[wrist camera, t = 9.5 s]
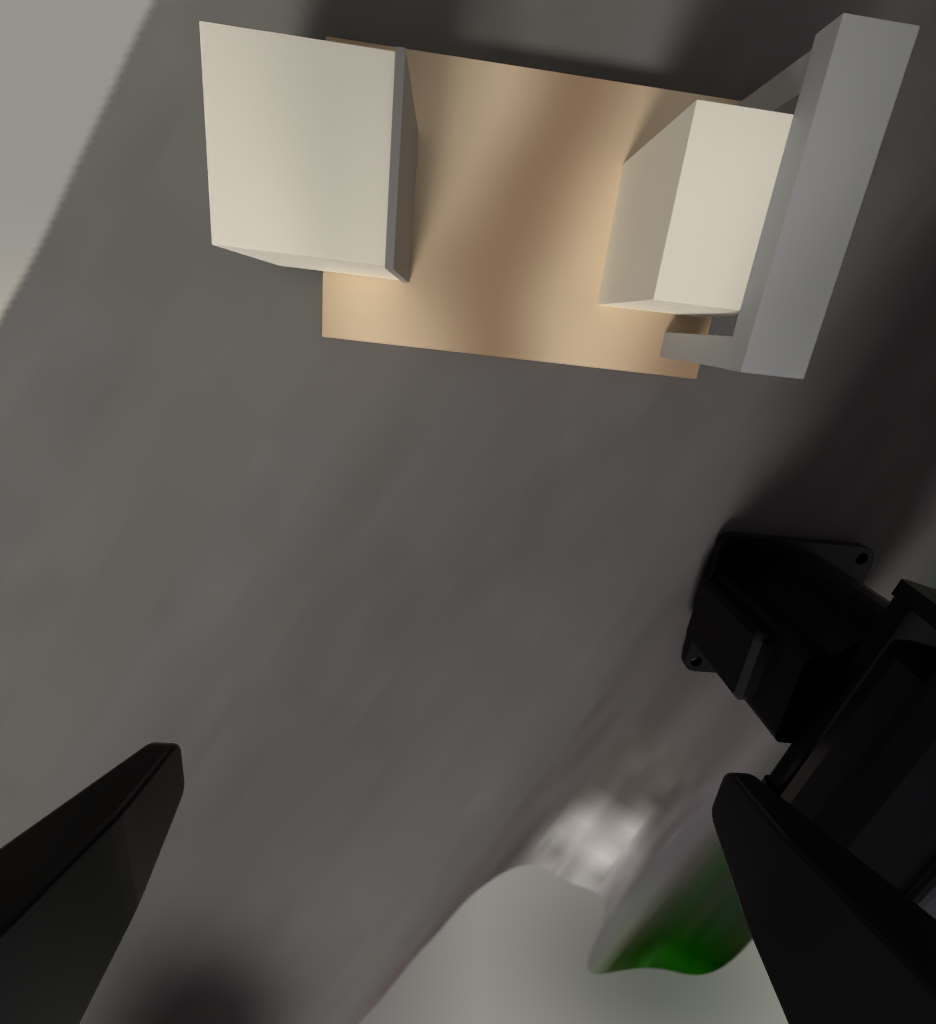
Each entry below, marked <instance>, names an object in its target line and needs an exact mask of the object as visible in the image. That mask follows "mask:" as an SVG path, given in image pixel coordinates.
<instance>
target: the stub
mask: <svg viewBox="0 0 936 1024" xmlns="http://www.w3.org/2000/svg"><path fill="white" fill-rule="evenodd" d="M199 24H200V42H201V59H202V77H203V94H204V112H205V129H206V147H207V164H208V181H209V199H210V216H211V234H212V245H215V246H218V247H222V248H225V249H228V250H231V251H234V252H238V253H241V254H244V255H247V256H250V257H254V258H257V259H260V260H263V261H266V262H270V263H273V264H276V265H279V266H287V267H295V268H303V269H311V270H319V271H327V272H336V273H344V274H352V275H360V276H368V277H376V278H385V279H393V280H400V281H402V282H403V283H409V273H410V257H411V242H412V226H413V210H414V195H415V179H416V164H417V148H418V126H417V120H416V113H415V107H414V100H413V94H412V87H411V81H410V74H409V68H408V61H407V55H406V48H404V47H398V46H396V47H395V51H389V50H382V49H376V48H369V47H363V46H356V45H350V44H344V43H337V42H331V41H324V40H318V39H311V38H305V37H299V36H292V35H286V34H279V33H273V32H266V31H260V30H254V29H247V28H241V27H234V26H228V25H221V24H215V23H209V22H202V21H199Z"/></svg>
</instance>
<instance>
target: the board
mask: <svg viewBox="0 0 936 1024" xmlns="http://www.w3.org/2000/svg"><path fill="white" fill-rule="evenodd" d="M325 41H331V42H337V43H344V44H350V45H356V46H363V47H369V48H376V49H382V50H389V51H395V47H392V46H385V45H379V44H372V43H366V42H360V41H353V40H347V39H340V38H334V37H327V36H326V39H325ZM406 55H407V61H408V68H409V74H410V81H411V87H412V94H413V100H414V107H415V113H416V120H417V126H418V148H417V164H416V179H415V195H414V210H413V226H412V242H411V257H410V273H409V283H403V282H402V281H400V280H393V279H385V278H376V277H368V276H360V275H352V274H344V273H336V272H327V271H323V324H322V337H330V338H339V339H348V340H357V341H365V342H374V343H383V344H392V345H401V346H410V347H418V348H427V349H436V350H445V351H454V352H463V353H471V354H480V355H489V356H498V357H507V358H516V359H525V360H533V361H542V362H551V363H560V364H569V365H578V366H586V367H595V368H604V369H613V370H622V371H631V372H639V373H648V374H657V375H666V376H675V377H684V378H692V379H696V378H697V374H698V370H699V366H700V364H698V363H692V362H687V361H681V360H676V359H670V358H665V357H659V355H660V351H661V347H662V342H663V338H664V334H665V332H669V333H685V334H700V335H708V332H709V328H710V324H711V320H712V317H694V316H686V315H678V314H669V313H661V312H653V311H645V310H637V309H629V308H620V307H612V306H604V305H597V301H598V296H599V290H600V285H601V280H602V274H603V269H604V263H605V258H606V252H607V247H608V242H609V236H610V231H611V225H612V220H613V214H614V209H615V203H616V198H617V193H618V187H619V182H620V176H621V171H622V165H623V164H624V163H625V162H626V161H627V160H629V159H630V158H631V157H632V156H633V155H634V154H635V153H637V152H638V151H639V150H640V149H641V148H642V147H643V146H645V145H646V144H647V143H648V142H649V141H650V140H651V139H653V138H654V137H655V136H656V135H657V134H658V133H659V132H661V131H662V130H663V129H664V128H665V127H666V126H667V125H669V124H670V123H671V122H672V121H673V120H674V119H675V118H677V117H678V116H679V115H680V114H681V113H682V112H683V111H685V110H686V109H687V108H688V107H689V106H690V105H691V104H693V103H694V102H695V101H696V100H703V101H709V102H716V103H722V104H729V105H735V106H736V105H737V104H738V103H740V102H741V101H737V100H731V99H724V98H718V97H712V96H705V95H699V94H692V93H686V92H680V91H673V90H667V89H660V88H654V87H648V86H641V85H635V84H628V83H622V82H616V81H609V80H603V79H596V78H590V77H584V76H577V75H571V74H564V73H558V72H552V71H545V70H539V69H532V68H526V67H520V66H513V65H507V64H500V63H494V62H488V61H481V60H475V59H468V58H462V57H456V56H449V55H443V54H436V53H430V52H424V51H417V50H411V49H406Z"/></svg>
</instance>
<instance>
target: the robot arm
mask: <svg viewBox="0 0 936 1024" xmlns="http://www.w3.org/2000/svg"><path fill="white" fill-rule="evenodd" d="M731 542H734V545H733V546H732V547H731V548H729V549H727V546H728V544H729V543H731ZM859 554H860V556H859V558H857V559H856V557H857V556H858V555H859ZM873 558H874V553H873V551H872V550H871V549H870V548H868V547H866V546H864V545H862V544H858V543H847V542H836V541H825V540H814V539H803V538H792V537H781V536H770V535H758V534H747V533H736V532H727V533H724V534H722V535H721V536H720V537H719V538H718V539H717V541H716V544H715V547H714V551H713V554H712V557H711V560H710V564H709V567H708V570H707V574H706V577H705V580H704V581H703V582H702V583H701V586H700V589H699V592H698V595H697V599H696V602H695V605H694V609H693V612H692V615H691V619H690V622H689V625H688V628H687V634H688V636H687V639H686V642H685V646H684V649H683V652H682V656H681V659H682V661H683V663H684V665H685V666H686V668H688V669H689V670H692V671H701V672H715V673H717V674H718V675H719V676H720V677H721V679H722V680H723V681H724V683H725V684H726V685H727V687H728V688H729V689H730V691H731V692H732V693H733V695H734V696H735V697H736V698H737V699H738V700H745V701H746V702H747V703H748V705H749V706H750V707H751V708H752V710H753V711H754V712H755V714H756V715H757V716H758V717H759V719H760V720H761V721H762V722H763V724H764V725H765V726H766V728H767V729H768V730H769V731H770V733H771V734H772V735H773V737H774V738H775V739H776V740H777V741H778V742H783V743H792V744H791V745H790V747H789V748H788V749H787V751H786V752H785V754H784V755H783V757H782V758H781V759H780V761H779V762H778V764H777V765H776V767H775V768H774V769H773V771H772V772H771V774H770V775H765V776H764V778H763V779H762V781H760V780H759V779H758V778H756V777H755V776H753V775H751V774H747V773H727V774H726V775H725V776H724V778H723V780H722V782H721V785H720V788H719V790H718V793H717V796H716V798H715V801H714V804H713V807H712V818H713V823H714V826H715V829H716V832H717V835H718V838H719V841H720V844H721V848H722V851H723V854H724V857H725V860H726V863H727V866H728V869H729V872H730V875H731V878H732V881H733V884H734V887H735V890H736V893H737V896H738V900H739V903H740V906H741V909H742V911H743V914H744V917H745V920H746V923H747V925H748V928H749V930H750V933H751V935H752V938H753V940H754V943H755V945H756V947H757V950H758V952H759V954H760V957H761V959H762V962H763V964H764V966H765V969H766V971H767V973H768V976H769V978H770V981H771V983H772V985H773V988H774V990H775V992H776V995H777V997H778V999H779V1002H780V1004H781V1007H782V1009H783V1011H784V1014H785V1016H786V1018H787V1021H788V1023H789V1024H936V589H933V588H930V587H927V586H924V585H921V584H918V583H915V582H912V581H908V580H905V579H901V580H900V582H899V583H898V585H897V586H896V588H895V589H894V591H893V592H892V593H891V594H892V595H893V596H894V598H893V599H892V600H891V602H890V601H889V600H887V599H885V598H884V597H882V596H881V595H879V594H878V593H876V592H874V591H873V590H871V589H870V588H868V587H867V586H865V585H863V582H864V580H865V578H866V575H867V573H868V571H869V568H870V566H871V564H872V561H873ZM694 657H697V659H695V660H693V661H691V660H692V659H693V658H694ZM183 790H184V774H183V765H182V756H181V749H180V747H179V745H178V744H175V743H159V742H154V743H150V744H148V745H146V746H144V747H143V748H142V749H140V750H139V751H137V752H136V753H135V754H133V755H132V756H130V757H129V758H128V759H126V760H125V761H123V762H122V763H120V764H119V765H118V766H116V767H115V768H113V769H112V770H111V771H109V772H108V773H106V774H105V775H103V776H102V777H101V778H99V779H98V780H96V781H95V782H94V783H92V784H91V785H89V786H88V787H87V788H85V789H84V790H82V791H81V792H79V793H78V794H77V795H75V796H74V797H72V798H71V799H70V800H68V801H67V802H65V803H64V804H63V805H61V806H60V807H58V808H57V809H55V810H54V811H53V812H51V813H50V814H48V815H47V816H46V817H44V818H43V819H41V820H40V821H38V822H37V823H36V824H34V825H33V826H31V827H30V828H29V829H27V830H26V831H24V832H23V833H22V834H20V835H19V836H17V837H16V838H14V839H13V840H12V841H10V842H9V843H7V844H6V845H5V846H3V847H2V848H0V1024H79V1023H80V1021H81V1019H82V1017H83V1015H84V1013H85V1011H86V1009H87V1007H88V1005H89V1003H90V1001H91V999H92V997H93V995H94V993H95V991H96V989H97V987H98V985H99V983H100V981H101V979H102V978H103V976H104V974H105V972H106V970H107V968H108V966H109V964H110V962H111V960H112V958H113V956H114V954H115V952H116V950H117V948H118V946H119V944H120V942H121V940H122V938H123V936H124V934H125V932H126V930H127V928H128V926H129V924H130V922H131V920H132V918H133V916H134V914H135V912H136V909H137V907H138V905H139V903H140V900H141V898H142V896H143V893H144V891H145V889H146V886H147V884H148V881H149V878H150V876H151V873H152V871H153V868H154V866H155V863H156V861H157V858H158V856H159V853H160V851H161V848H162V846H163V843H164V841H165V838H166V836H167V833H168V831H169V828H170V826H171V823H172V821H173V818H174V815H175V813H176V810H177V808H178V805H179V803H180V800H181V798H182V794H183Z"/></svg>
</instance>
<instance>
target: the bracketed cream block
mask: <svg viewBox="0 0 936 1024" xmlns="http://www.w3.org/2000/svg"><path fill="white" fill-rule="evenodd" d="M919 28H920V26H917V25H911V24H906V23H900V22H894V21H888V20H882V19H877V18H871V17H865V16H859V15H853V14H848V13H843V14H841V15H840V16H839V17H838V18H836V19H835V20H834V21H832V22H831V23H830V24H829V25H827V26H826V27H825V28H823V29H822V30H821V31H819V32H818V33H817V34H816V36H815V39H814V43H813V47H812V50H810V51H809V52H808V53H806V54H805V55H804V56H802V57H801V58H800V59H798V60H797V61H795V62H794V63H793V64H791V65H790V66H789V67H787V68H786V69H785V70H783V71H782V72H780V73H779V74H778V75H776V76H775V77H774V78H772V79H771V80H770V81H768V82H767V83H766V84H764V85H763V86H761V87H760V88H759V89H757V90H756V91H755V92H753V93H752V94H751V95H749V96H748V97H747V98H745V99H744V100H742V101H741V102H740V103H738V104H737V105H736V106H735V105H729V104H722V103H716V102H709V101H703V100H696V101H695V102H694V103H693V104H691V105H690V106H689V107H688V108H687V109H686V110H685V111H683V112H682V113H681V114H680V115H679V116H678V117H677V118H675V119H674V120H673V121H672V122H671V123H670V124H669V125H667V126H666V127H665V128H664V129H663V130H662V131H661V132H659V133H658V134H657V135H656V136H655V137H654V138H653V139H651V140H650V141H649V142H648V143H647V144H646V145H645V146H643V147H642V148H641V149H640V150H639V151H638V152H637V153H635V154H634V155H633V156H632V157H631V158H630V159H629V160H627V161H626V162H625V163H624V164H623V165H622V171H621V176H620V182H619V187H618V193H617V198H616V203H615V209H614V214H613V220H612V225H611V231H610V236H609V242H608V247H607V252H606V258H605V263H604V269H603V274H602V280H601V285H600V290H599V296H598V301H597V305H604V306H612V307H620V308H629V309H637V310H645V311H653V312H661V313H669V314H678V315H686V316H694V317H738V319H737V323H736V326H735V330H734V334H733V337H731V336H715V335H700V334H685V333H669V332H665V334H664V338H663V342H662V347H661V351H660V355H659V357H665V358H670V359H676V360H681V361H687V362H692V363H698V364H703V365H709V366H714V367H720V368H724V369H727V370H732V371H738V372H744V373H753V374H762V375H771V376H779V377H788V378H797V379H804V376H805V373H806V370H807V367H808V364H809V361H810V358H811V355H812V352H813V349H814V346H815V343H816V340H817V337H818V334H819V331H820V328H821V325H822V322H823V319H824V315H825V312H826V309H827V306H828V303H829V300H830V297H831V294H832V291H833V288H834V285H835V282H836V279H837V276H838V273H839V270H840V267H841V264H842V261H843V258H844V255H845V252H846V249H847V246H848V243H849V240H850V237H851V234H852V231H853V228H854V225H855V222H856V219H857V216H858V213H859V209H860V206H861V203H862V200H863V197H864V194H865V191H866V188H867V185H868V182H869V179H870V176H871V173H872V170H873V167H874V164H875V161H876V158H877V155H878V152H879V149H880V146H881V143H882V140H883V137H884V134H885V131H886V128H887V125H888V122H889V119H890V116H891V113H892V110H893V107H894V103H895V100H896V97H897V94H898V91H899V88H900V85H901V82H902V79H903V76H904V73H905V70H906V67H907V64H908V61H909V58H910V55H911V52H912V49H913V46H914V43H915V40H916V37H917V34H918V31H919Z"/></svg>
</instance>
